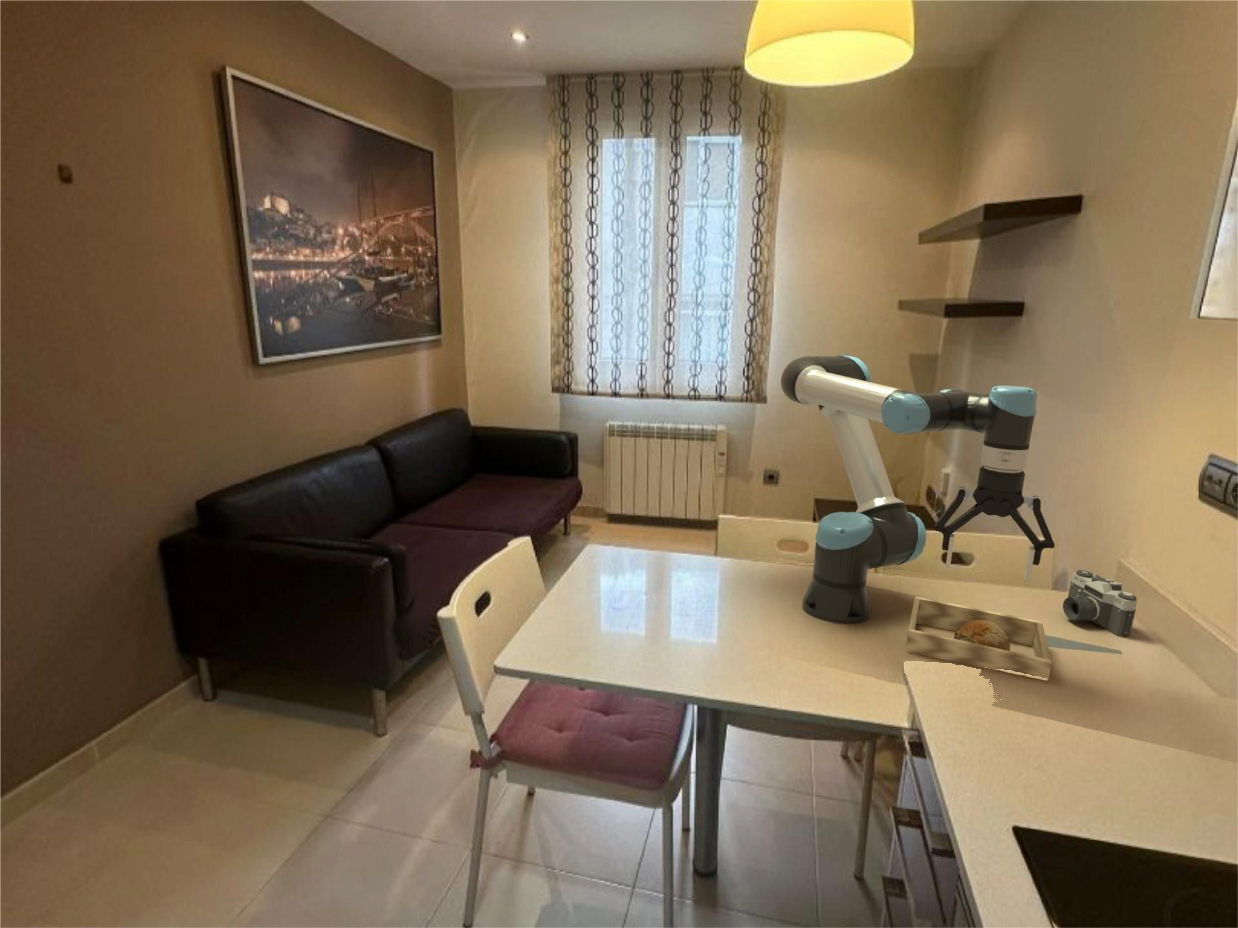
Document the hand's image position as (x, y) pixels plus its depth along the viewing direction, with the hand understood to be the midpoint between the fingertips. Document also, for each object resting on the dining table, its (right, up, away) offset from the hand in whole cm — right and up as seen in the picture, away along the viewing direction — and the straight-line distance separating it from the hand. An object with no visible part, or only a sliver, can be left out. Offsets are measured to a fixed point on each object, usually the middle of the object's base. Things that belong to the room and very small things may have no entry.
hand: (986, 572), depth 126 cm
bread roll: (-1, -18, +5) cm, 19 cm away
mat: (+21, -18, +2) cm, 28 cm away
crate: (0, -17, +5) cm, 18 cm away
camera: (+34, -14, +19) cm, 41 cm away
